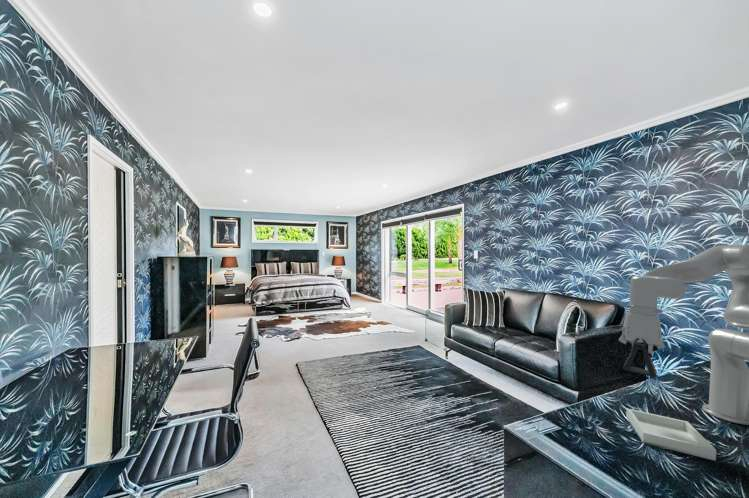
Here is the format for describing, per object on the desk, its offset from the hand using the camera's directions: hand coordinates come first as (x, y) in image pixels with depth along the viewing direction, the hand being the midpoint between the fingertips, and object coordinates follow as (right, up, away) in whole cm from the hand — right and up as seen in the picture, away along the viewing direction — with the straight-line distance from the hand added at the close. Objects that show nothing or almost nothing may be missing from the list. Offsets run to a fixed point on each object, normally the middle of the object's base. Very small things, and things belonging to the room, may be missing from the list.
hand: (640, 362), depth 111 cm
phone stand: (0, -3, 0) cm, 4 cm away
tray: (-3, -19, -13) cm, 23 cm away
